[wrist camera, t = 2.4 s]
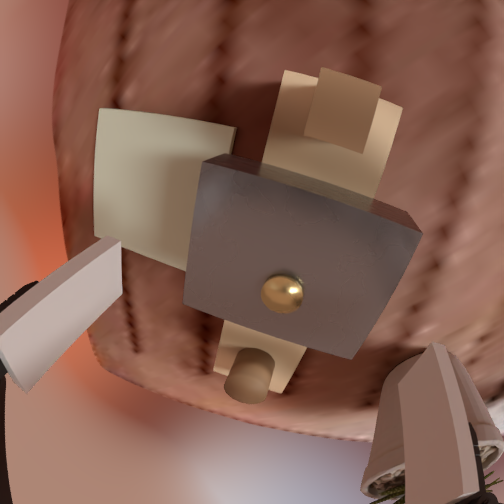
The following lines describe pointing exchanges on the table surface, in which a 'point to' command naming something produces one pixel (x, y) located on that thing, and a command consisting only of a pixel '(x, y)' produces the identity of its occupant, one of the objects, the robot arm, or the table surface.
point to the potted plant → (392, 442)
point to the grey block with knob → (293, 254)
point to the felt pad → (152, 179)
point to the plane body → (320, 167)
